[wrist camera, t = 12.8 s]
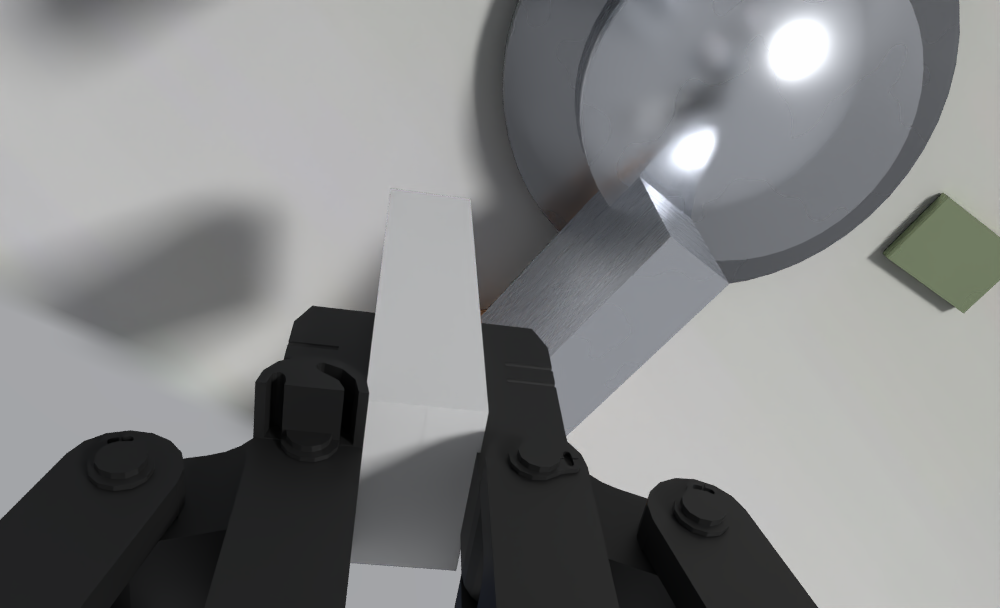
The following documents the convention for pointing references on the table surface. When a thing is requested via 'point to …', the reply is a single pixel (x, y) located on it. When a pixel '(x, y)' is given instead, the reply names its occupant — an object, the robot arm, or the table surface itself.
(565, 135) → the base
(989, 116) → the table surface
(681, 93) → the lever with ball knob
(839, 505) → the table surface
